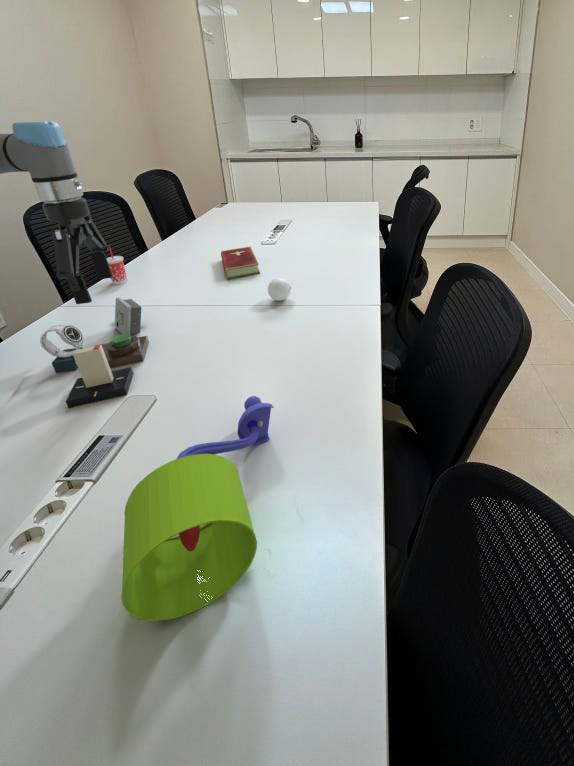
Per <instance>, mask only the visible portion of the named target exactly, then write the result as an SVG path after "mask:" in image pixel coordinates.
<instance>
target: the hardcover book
mask: <svg viewBox="0 0 574 766" xmlns="http://www.w3.org/2000/svg"><path fill="white" fill-rule="evenodd" d="M220 257H221V261H222V266H223V270H224V274H225V277H226V278H225V279H227V280H232V279H233V280H234V279H237V278H243V277H250V276H253V275H259V274H261V272H260V269H259V262H258V259H257V257H256V255H255V252H254V251H253V248H252V246H245V247H239V248H233V249H227V250H221V251H220Z"/></svg>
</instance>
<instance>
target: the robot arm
mask: <svg viewBox="0 0 574 766" xmlns="http://www.w3.org/2000/svg"><path fill="white" fill-rule="evenodd" d="M11 129H12V133H0V175H1V174H8V173H23V172H25V173H28V174H29V175H30V179H31V181H32V184H33V186H34V189H35V191H36V194H37V196H38V200H39V201H40V202H42V205H41V207H42V210H43V212H44V214H45V216H46V220H48V221H49V222H55V223H57V226H58V227H57V228H58V229H52V230H50V236H51V239H52V242H53V251H54V255H55V256H54V257H55V265H56V275H57V278H58V279H59V280H61V279H66V281H67V284H68V287H69V290H70V292H71V294H72V297H73V299H74V302H75V304H76V305H83V304H90V303H92V301H93V299H92V297H91V295H90V292H89V289H88V286H87V284H86V281H85V278H84V275H83V274H82V273H80V248H81V247H82V246H83V245H84V246H85V247H86V248H87V249H88V250H89V251H90V252H91V254H90V257H91V259H92V262H93V264H94V267H95V270H96V273H97V276H98V279H99V280H105V279H111V278H112V277H113V276H112V273H111V270H110V267H109V264H108V261H107V258H108V257H107V255H106V253H105V252H109V247H108V244H107V242H106V240H105V239H104V237H103V236H102V234H101V232H100V231H99V228H97V225H96V224H95V223H94V220H93V218H92V215H91V212H90V208H89V205H88V202H87V200H86V198H84V197H82V196H83V195H84V192H83V191H84V190H83V189H82V187H83V183H82V181H80V180H79V177H78V173H77V171H76V167H75V166H74V162H73V159H72V156H71V153H70V150H69V144H68V141H67V140H66V138H65V135H64V133H63V131H62V128H61V126H60V125H59V123H57V122H56V121H53V120H44V121H43V120H41V121H24V122H23V121H20V122H14V123H12V124H11Z"/></svg>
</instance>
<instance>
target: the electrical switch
mask: <svg viewBox="0 0 574 766" xmlns="http://www.w3.org/2000/svg"><path fill="white" fill-rule="evenodd" d="M114 305H115V306H114V328H115V329H116V330H117V331H118V332H119V333H120V334H129V335H136V334H139V333H141V325H142V306H141V305H140V304H139V303H137V302H136V301H134V300H133V299H132V298H129V299H123V298H122V297H120V296H119V297H115V304H114Z"/></svg>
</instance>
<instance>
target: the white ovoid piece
mask: <svg viewBox="0 0 574 766" xmlns="http://www.w3.org/2000/svg"><path fill="white" fill-rule="evenodd" d="M267 285H268V286H267V294H268V296H269V297H270V298H271V299H272V300H274V301H277V302H280V301H281V302H282V301H284V300H286V299H287V298H288V297H289V296H290V295H291V292H292V291H291V290H292V287H291V284H290V282H289V281H288V280H287V279H285V278H282V277H276V278H273V279H272V280H271V281H270V282H269V283H268V284H267Z"/></svg>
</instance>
